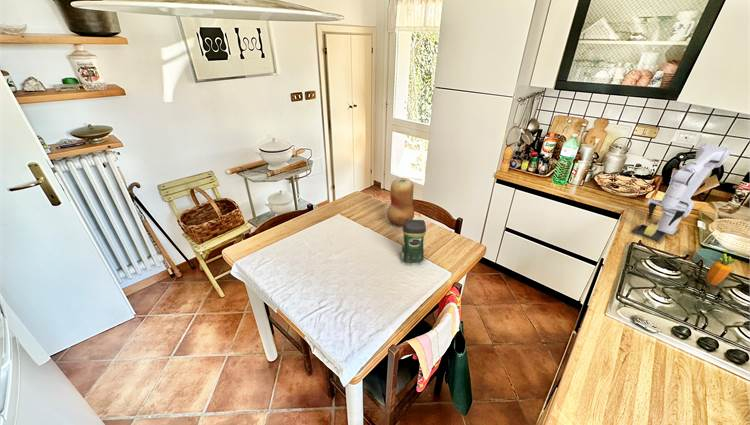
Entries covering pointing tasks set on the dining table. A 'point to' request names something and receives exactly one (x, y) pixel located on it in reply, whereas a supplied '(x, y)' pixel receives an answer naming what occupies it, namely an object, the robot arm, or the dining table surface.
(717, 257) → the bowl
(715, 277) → the carrot
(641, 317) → the blueberries
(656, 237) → the dark grey flat slab
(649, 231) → the butter
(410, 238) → the coffee jar
